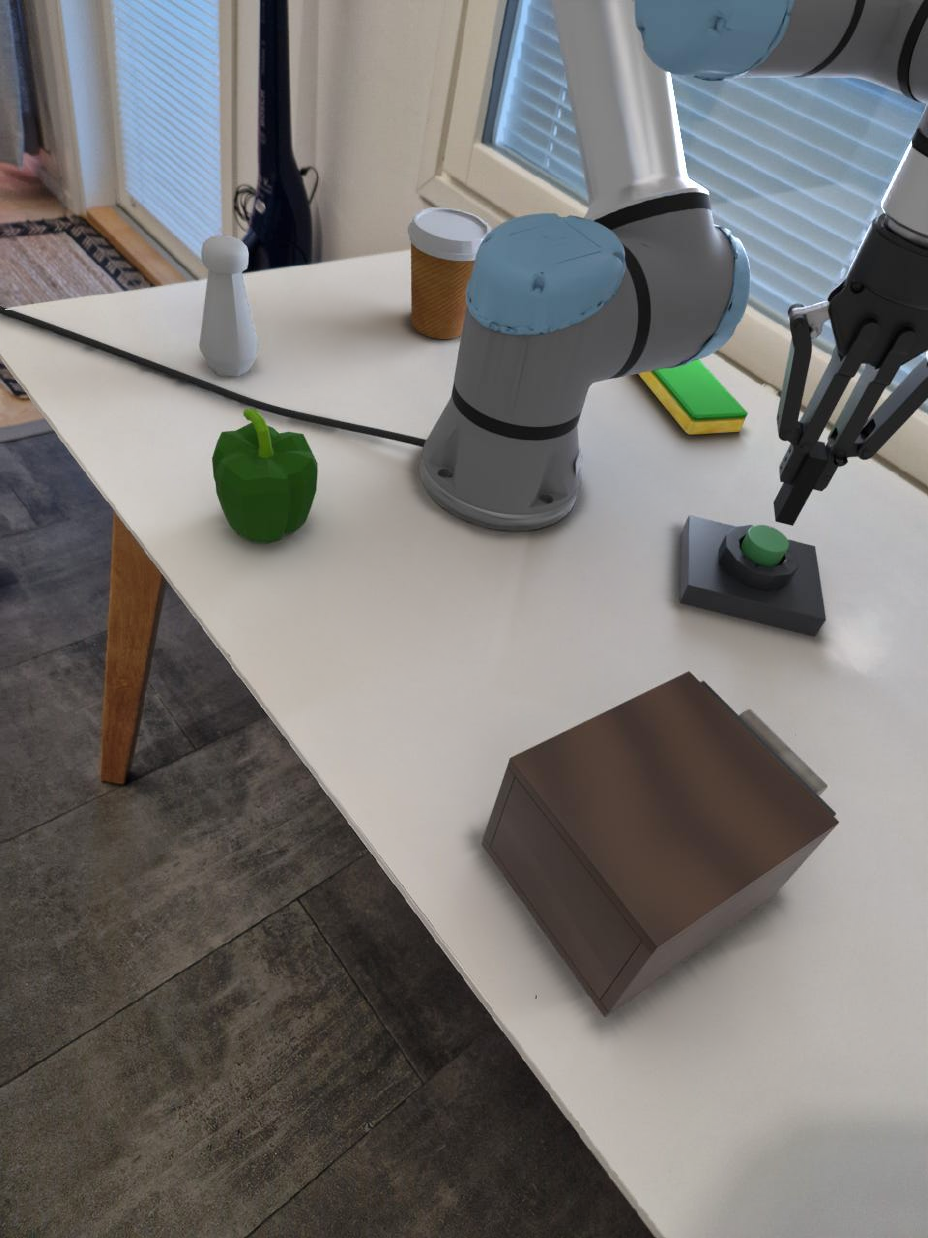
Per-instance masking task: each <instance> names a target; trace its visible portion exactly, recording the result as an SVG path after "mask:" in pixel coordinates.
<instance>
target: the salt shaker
mask: <svg viewBox="0 0 928 1238" xmlns="http://www.w3.org/2000/svg"><path fill="white" fill-rule="evenodd" d="M200 257H201V262H202V265H203V266H204V267H205V268H206V269H207V270H208V272H207V279H206V288H205V295H204V303H203V312H202V319H201V328H200V336H199V337H200V338H199V345H198V346H199V350H200V352H201V355H202V356H203V359H204V361H205V362H206V364H207V367H208V368H209V369H210V370H212V371H213V372H214V373H216V374H217V375H218V376H222V377H235V378H237V377H238V378H239V377H241V376H242V375H244V374H246V373H248V372H250V371H251V369H252V367H253V365H254V363H255V360H256V359H257V357H258V352H259V342H258V341H259V340H258V336H257V332H256V328H255V322H254V320H253V314H252V310H251V306H250V302H249V298H248V293H247V288H246V284H245V280H244V274H243V272H244V271H246V270H247V269H248V267H249V257H250V253H249V248H248V246H247V245H246V244H245V243H244V242H243V241H242V240H241V239H239V238H237V237H234V236H230V235H227V234H226V235H224V234H223V235H221V234H220V235H219V234H217V235H213V236H210V237H208V238H206V239H205V240H204V241H203V242H202V245H201V251H200Z"/></svg>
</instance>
